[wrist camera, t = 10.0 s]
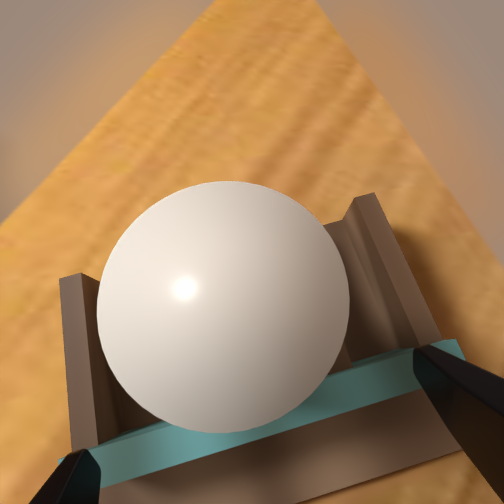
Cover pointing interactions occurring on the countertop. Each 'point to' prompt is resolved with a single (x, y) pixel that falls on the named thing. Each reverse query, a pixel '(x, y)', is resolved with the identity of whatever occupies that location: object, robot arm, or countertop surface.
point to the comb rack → (291, 424)
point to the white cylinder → (223, 307)
